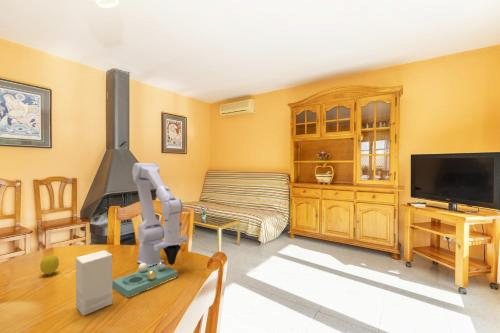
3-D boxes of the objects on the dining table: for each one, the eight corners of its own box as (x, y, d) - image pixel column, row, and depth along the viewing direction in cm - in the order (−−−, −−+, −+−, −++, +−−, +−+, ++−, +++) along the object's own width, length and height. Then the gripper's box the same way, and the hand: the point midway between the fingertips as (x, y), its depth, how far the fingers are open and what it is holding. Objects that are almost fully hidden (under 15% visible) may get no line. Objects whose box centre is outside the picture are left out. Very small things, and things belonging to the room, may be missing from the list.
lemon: (48, 278, 92) (48, 257, 92) (36, 277, 93) (36, 255, 93) (62, 272, 97) (62, 252, 97) (50, 270, 98) (51, 250, 98)
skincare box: (105, 297, 80) (105, 249, 80) (113, 304, 76) (114, 254, 76) (74, 308, 74) (74, 256, 74) (82, 317, 70) (82, 262, 69)
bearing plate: (160, 269, 101) (161, 263, 101) (177, 277, 95) (177, 271, 95) (112, 287, 86) (112, 280, 86) (128, 298, 80) (128, 290, 80)
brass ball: (143, 278, 87) (146, 269, 87) (151, 278, 89) (154, 268, 90) (148, 281, 85) (151, 271, 85) (157, 280, 87) (159, 271, 88)
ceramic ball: (136, 271, 93) (136, 263, 93) (144, 268, 96) (144, 260, 96) (141, 274, 92) (141, 265, 91) (149, 271, 94) (149, 262, 94)
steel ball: (155, 270, 95) (155, 262, 95) (162, 267, 97) (162, 259, 97) (159, 272, 93) (160, 264, 93) (167, 269, 95) (167, 261, 95)
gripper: (161, 235, 90) (161, 272, 91) (192, 228, 102) (192, 260, 102) (150, 232, 95) (150, 267, 95) (182, 225, 106) (181, 256, 106)
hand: (171, 263), depth 99 cm, fingers closed
